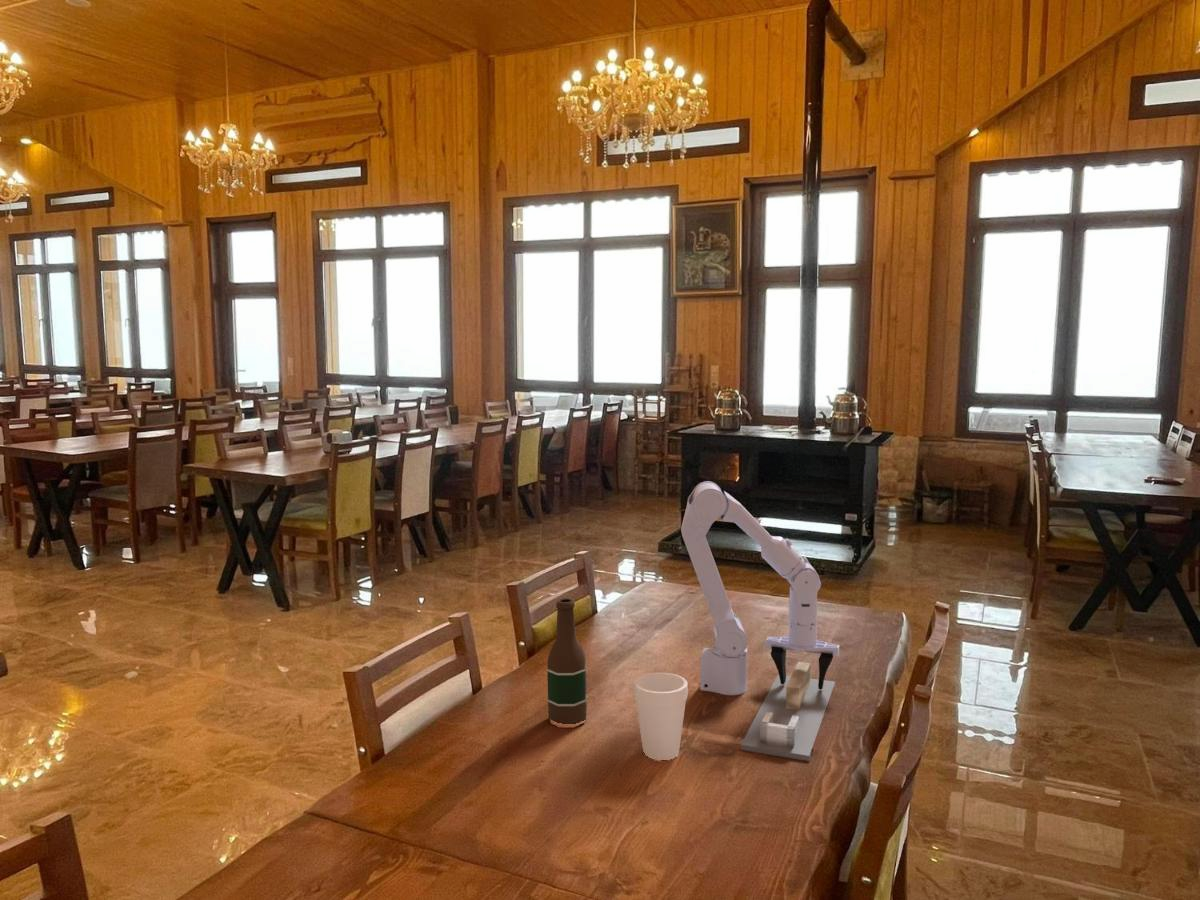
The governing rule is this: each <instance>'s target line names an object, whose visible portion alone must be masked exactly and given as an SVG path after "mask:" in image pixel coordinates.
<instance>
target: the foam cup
mask: <svg viewBox="0 0 1200 900" xmlns="http://www.w3.org/2000/svg"><path fill="white" fill-rule="evenodd" d="M688 684H689V683H688V680H686V679H685V678H684V677H683V676H680V675H679V674H676V673H671V672H666V671H665V672H649V673H645V674H642V675H640V676H638V677H636V678H635V679H634V682H633V696H634V699H635V704H636V705H635V706H636V711H637V712H636V713H637V719H638V724H639V725H638V726H639V731H640V732H639V733H640V738H641V739H640V740H641V747H642V751H643V752H644V753H645V755H646V756H648V757H649V758H652V759H657V760H668V761H671V760H670V759H672V760H674V759H676V758H677V757H678V756H679V754H680V748H681V747H680V746H681V739H682V733H683V725H684V717H685V708H686V703H687V702H686V700H687V699H688V695H689V691H688V690H689V689H688ZM644 753H643V754H644ZM645 755H644V756H645ZM646 756H645V757H646ZM675 757H676V758H675ZM649 758H648V759H649ZM673 758H674V759H673Z"/></svg>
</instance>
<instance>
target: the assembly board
mask: <svg viewBox="0 0 1200 900" xmlns="http://www.w3.org/2000/svg"><path fill="white" fill-rule="evenodd" d="M791 676H792V675H787V674H786V681H785V683H784V684H781V682H780V677H779V673H778V674H777V675H776V677H775V680H774V681H773V683H772V686H771V687H770V688H769V691H768V692H767V695H766V696H765V697H764V700H763V703H761V705H760V708H759V709H758V711H757V714H756V716H755V717H754V719H753V720H752V722H751V725H750V727H749V728H748V731H747V733H746V735H745V737H744V738H743V740H742V742H741V744H740V750H741V751H746V752H752V753H758V754H763V755H768V756H769V755H770V756H775V757H777V756H778V757H782V758H786V759H793V760H799V761H804V760H805V761H806V762H810V760H811V758H810V757H812V755H813V752H814V748H813V746H814V744H815V741H816V738H817V735H818V732H819V730H820V727H821V725H822V721H823V718H824V715H825V712H826V710H827V706H828V704H829V701H830V698H831V695H832V692H833V689H834V686H835V684H836V681H833V680H825V679H824V683H823V688H822V690H821V689H818V683H819V678H818V679H817V678H811V677H810V685H809V688H808V690H807V693H806V695H805V697H804V700H803V702H802V704H801V707H800V709H799V710H793V709H786V686H787V684H788V682H789V680H790V678H791ZM766 712H773V723H774V724H781V725H787V726H788V725H789V722H790V720H791V718H792V715H793V716H799V735H798V738H797V741H796V743H795V746H794V748H788V747H782V746H776V745H770V744H764V743H760V724H761V722H762V720H763V718H764V716H765V714H766Z"/></svg>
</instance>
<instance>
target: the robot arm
mask: <svg viewBox="0 0 1200 900" xmlns="http://www.w3.org/2000/svg"><path fill="white" fill-rule="evenodd" d="M719 518H721V521H723V522H728V523H734V524H736V526H738V528H740V529H741V530H742V531H743V532H744V533H745V534H746V535H747V536H748V537H750V538H751V539H752V540H753V541H754V542H755V543H756V544H757V545H758V546H759V547H760V555H761V558H762V559H763V560H764V561H765V562H767V564H768V565H769V566H771V568H773V569H774V571H775V572H777V573H778V574H779V576H780V577H781V578H783V579H786V581H787V582H788V584H790V586H789V598H788V627H787V629H788V635H787V636H786V637H785V636H779V637H778V636H767V638H766V639H765V641H766V643H765V644H766V645H765V646H766V647H765V648H766V649H769V650H771V651H770V657H771V659H772V660H773V662H774V664H775V667H776V669H777V672H778V674H779V677H780V682H781V684H784V683H785V681H786V675H787V671H786V670H787V669H786V661H787V659H786V658H787V651H795V652H798V653H799V652H800V653H811V654H818V655H819V654H820V655H819V658H818V679H819V683H818V689H821V690H822V688H823V683H824V680H825V679H826V674H827V671H828V669H829V667H830V666H831V663H832V660H833V658H834V657H836V658H838V657H839V655H840V644H835V643H830V642H826V641H821V640H818V602H819V601H818V592H819V590H820V589H821V586H822V581H821V579H820V575H819V574H818V572H817V571H816V569H815V568H814V567H813V566H812V565H811V563H810V562H809V559H808V558H806V556H805V555H804V556H801V555H800V554H799V553H798V552H797V550H796V549H794V548H793V547H792V545H793V543H792V542H791V540H790V539H789V538H786V539H784V537H782V536H778V535H777V536H776V535H775V536H774V535H771V534H770V532H768V531H767V530H766V529H765V528H764V527H763V526H762V524H760V522H759V521H758V520H757V519H756V518H755V517H754V516H753V515H752V514H751V513H750V512H749V511H748V510H747V509H746V507H745V506H744V505H742V503H741V502H739V501H738V500H737V499H735V497H733V496H732V495H731V494H729V493H728V492H726V491H725V490H723V491H722V489H721V487H720V485H718V484H717V483H715V482H713V481H709V480H707V481H703V482H699V483H698V484H697V485H696V486H695V487H694V488H693V490H692V492H691V493H690V495H689V496H688V497H687V503H686V508H685V512H684V516H683V518H682V519H683V520H682V523H681V527H680V530H681V537H682V539H683V542H684V544H685V547H686V549H687V553H688V555H689V559H690V561H691V563H692V567H693V569H694V571H695V574H696V578H697V580H698V583H699V586H700V588H701V591H702V593H703V596H704V599H705V602H706V604H707V607H708V611H709V613H710V616H711V618H712V622H713V624H712V632H713V634H714V636H715V642H714V643H713V645H712V646H711V647H704V648H703V650H702V652H701V655H700V662H699V664H700V666H699V670H700V671H699V674H700V675H699V690H700V691H705V692H710V693H711V692H713V693H716V694H720V695H725V696H737V695H742V694H744V693H746V692H747V690H748V648H747V647H748V642H749V640H748V637H747V633H746V632H745V630H744V627H743V625H744V624H743V622H742V620H741V618H740V617H738V615H736V614H735V612H734V611H733V608H732V606H731V605H732V604H731V603H730V600H729V596H728V595H727V592H726V589H725V586H724V584H723V580H722V579H721V578H722V577H721V575H720V573H719V570H718V567H717V564H716V562H715V558H714V556H713V554H712V551H711V548H710V546H709V542H708V540H707V537H706V536H707V533H708V532H709V530H710V529H711V526H712V525H713V523H714V522H715V521H717V520H718V519H719ZM706 685H707V686H706Z"/></svg>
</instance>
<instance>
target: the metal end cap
mask: <svg viewBox="0 0 1200 900" xmlns="http://www.w3.org/2000/svg"><path fill="white" fill-rule="evenodd" d="M798 735H799V716H793V715H792V718H791V720H790V722H789V725H788V726H787V725H781V724H774V723H773V712H766V714H765V716H764V718H763V720H762V722H761V724H760V743H764V744H770V745H776V746H782V747H788V748H794V746H795V743H796V741H797V738H798Z"/></svg>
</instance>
